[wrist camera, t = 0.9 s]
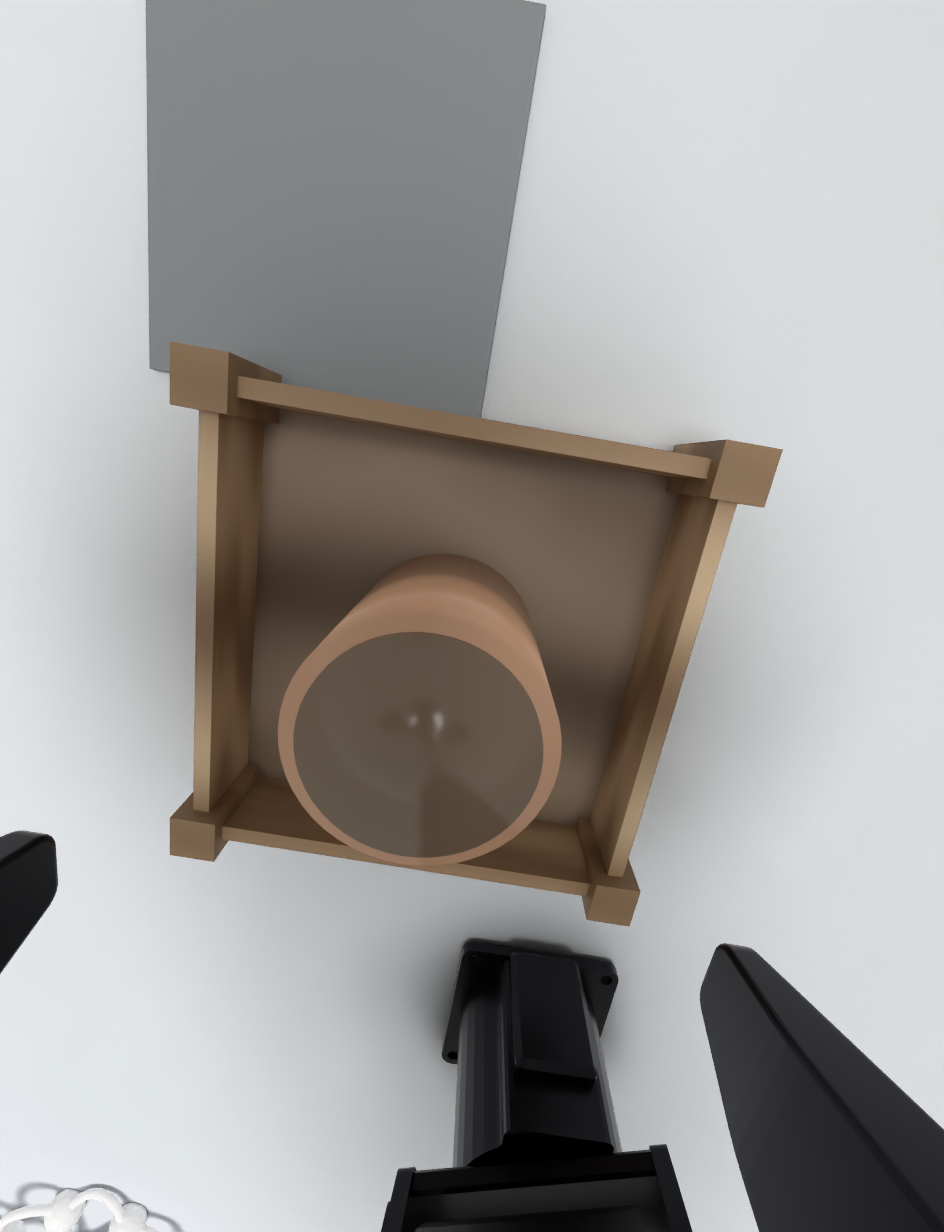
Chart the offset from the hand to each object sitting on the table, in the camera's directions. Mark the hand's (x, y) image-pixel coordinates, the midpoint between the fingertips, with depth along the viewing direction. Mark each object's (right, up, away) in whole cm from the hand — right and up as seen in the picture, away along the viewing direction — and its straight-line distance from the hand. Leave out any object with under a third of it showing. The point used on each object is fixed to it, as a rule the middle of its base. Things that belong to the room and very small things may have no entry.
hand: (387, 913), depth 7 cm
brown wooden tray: (0, +3, +11) cm, 11 cm away
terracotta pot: (0, +3, +11) cm, 11 cm away
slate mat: (-3, +15, +7) cm, 17 cm away
